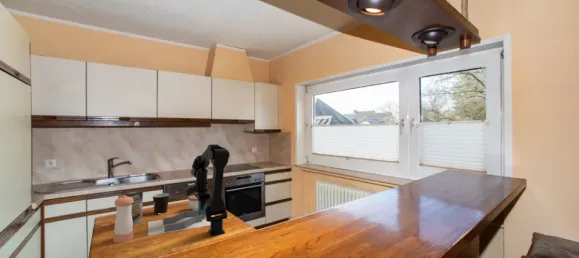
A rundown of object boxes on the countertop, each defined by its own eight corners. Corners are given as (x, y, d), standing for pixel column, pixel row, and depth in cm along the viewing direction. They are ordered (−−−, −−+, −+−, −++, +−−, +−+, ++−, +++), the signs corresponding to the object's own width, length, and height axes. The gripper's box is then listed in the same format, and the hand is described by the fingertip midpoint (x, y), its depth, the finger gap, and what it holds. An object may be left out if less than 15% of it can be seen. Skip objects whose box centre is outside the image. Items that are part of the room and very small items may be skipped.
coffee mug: (154, 210, 147) (154, 193, 147) (170, 209, 150) (170, 192, 150) (149, 217, 136) (149, 199, 136) (166, 215, 139) (167, 197, 139)
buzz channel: (219, 225, 128) (220, 217, 128) (148, 237, 112) (148, 228, 112) (211, 214, 144) (211, 207, 144) (148, 223, 128) (148, 215, 128)
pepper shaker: (111, 239, 108) (112, 195, 108) (131, 234, 113) (132, 192, 113) (115, 245, 103) (116, 198, 103) (135, 240, 108) (136, 195, 108)
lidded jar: (210, 207, 155) (210, 192, 155) (199, 213, 145) (199, 196, 145) (195, 206, 158) (195, 191, 158) (184, 211, 148) (184, 195, 148)
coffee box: (126, 228, 120) (126, 195, 121) (116, 226, 122) (117, 193, 123) (142, 222, 129) (143, 190, 129) (133, 220, 131) (134, 189, 131)
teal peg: (207, 216, 135) (207, 198, 135) (199, 217, 133) (199, 198, 133) (205, 214, 138) (205, 196, 138) (197, 215, 136) (198, 197, 136)
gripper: (183, 178, 139) (182, 206, 139) (188, 184, 123) (187, 216, 123) (204, 176, 145) (203, 203, 145) (211, 182, 129) (210, 212, 129)
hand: (201, 208), depth 135 cm, fingers closed on teal peg, 4 cm apart
